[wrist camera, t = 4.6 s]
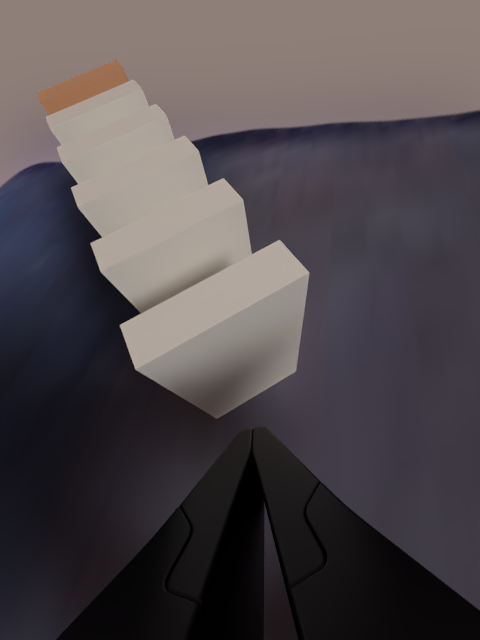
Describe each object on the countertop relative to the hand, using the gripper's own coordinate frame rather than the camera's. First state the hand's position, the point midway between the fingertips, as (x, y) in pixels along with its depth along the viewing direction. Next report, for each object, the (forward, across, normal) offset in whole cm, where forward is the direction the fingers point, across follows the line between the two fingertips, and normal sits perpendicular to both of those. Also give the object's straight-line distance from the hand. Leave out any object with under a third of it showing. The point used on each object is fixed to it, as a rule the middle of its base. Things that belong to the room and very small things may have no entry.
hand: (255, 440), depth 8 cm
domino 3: (+13, -3, +3) cm, 14 cm away
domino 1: (+8, 0, -2) cm, 8 cm away
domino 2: (+10, -2, 0) cm, 11 cm away
